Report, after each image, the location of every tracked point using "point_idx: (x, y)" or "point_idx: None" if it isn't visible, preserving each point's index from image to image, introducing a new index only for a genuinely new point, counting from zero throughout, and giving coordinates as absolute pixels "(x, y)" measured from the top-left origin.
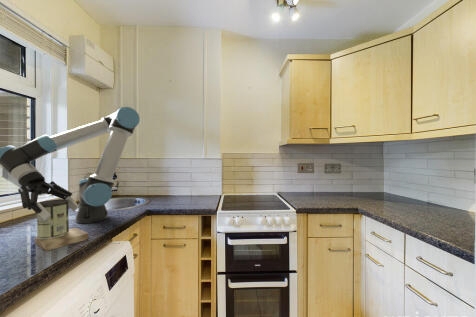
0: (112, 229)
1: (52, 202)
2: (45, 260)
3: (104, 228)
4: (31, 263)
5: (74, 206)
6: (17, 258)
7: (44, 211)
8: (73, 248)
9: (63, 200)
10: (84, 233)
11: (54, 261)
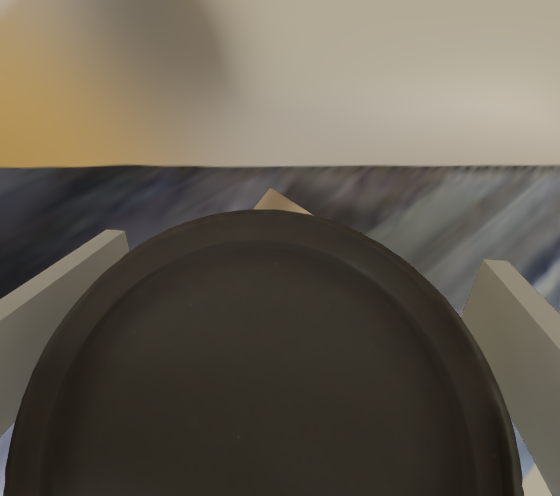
0: (143, 166)
1: (277, 431)
2: (519, 223)
3: (118, 215)
4: (557, 261)
5: (111, 264)
6: None
7: (551, 312)
8: (388, 194)
9: (107, 350)
10: (272, 204)
11: (521, 180)
